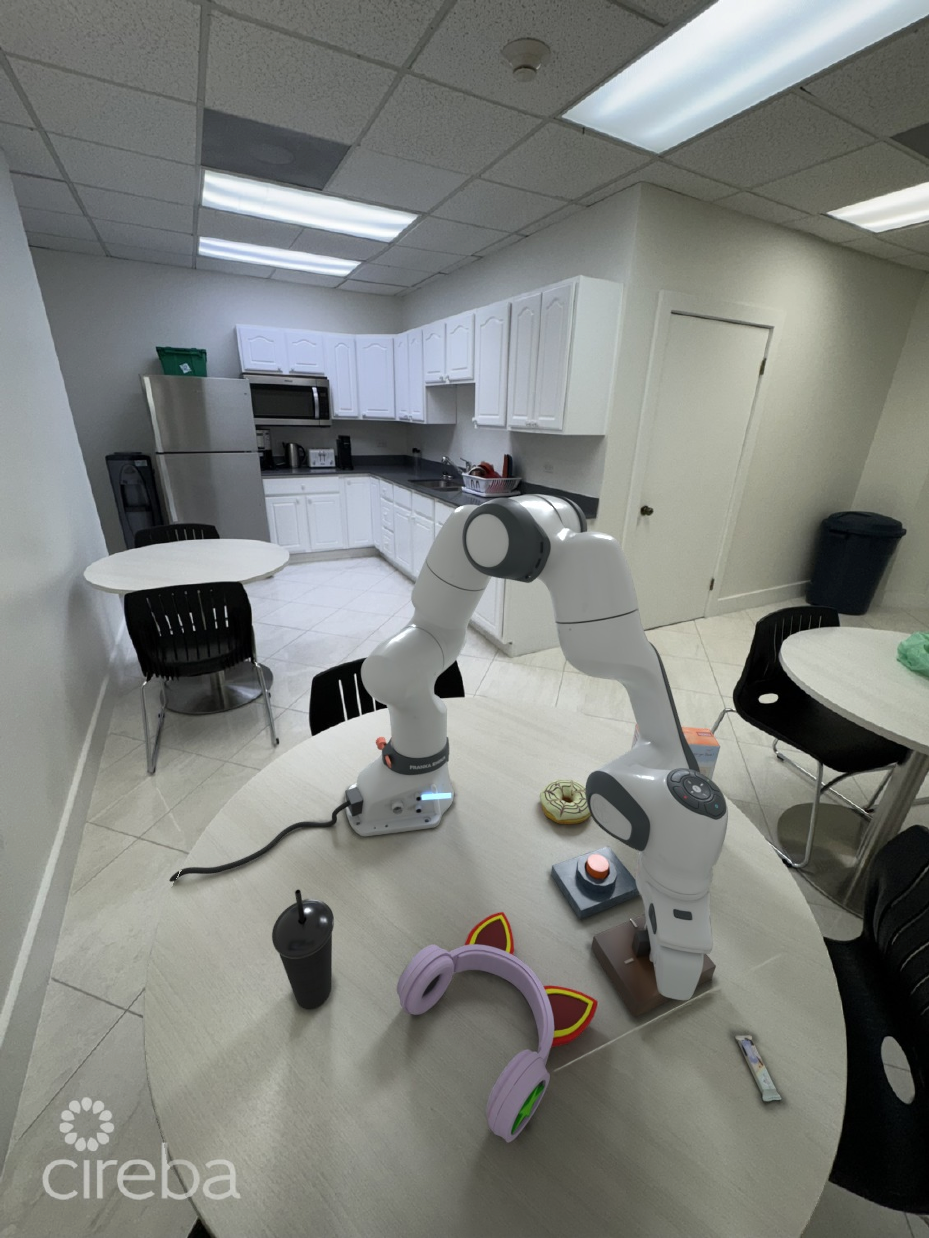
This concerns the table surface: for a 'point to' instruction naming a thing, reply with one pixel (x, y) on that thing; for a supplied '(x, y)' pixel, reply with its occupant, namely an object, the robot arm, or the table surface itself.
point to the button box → (594, 884)
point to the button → (597, 866)
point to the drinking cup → (306, 949)
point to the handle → (641, 943)
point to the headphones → (552, 1006)
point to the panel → (634, 967)
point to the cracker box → (698, 747)
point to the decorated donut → (561, 810)
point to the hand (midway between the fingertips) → (652, 946)
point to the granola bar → (758, 1068)
